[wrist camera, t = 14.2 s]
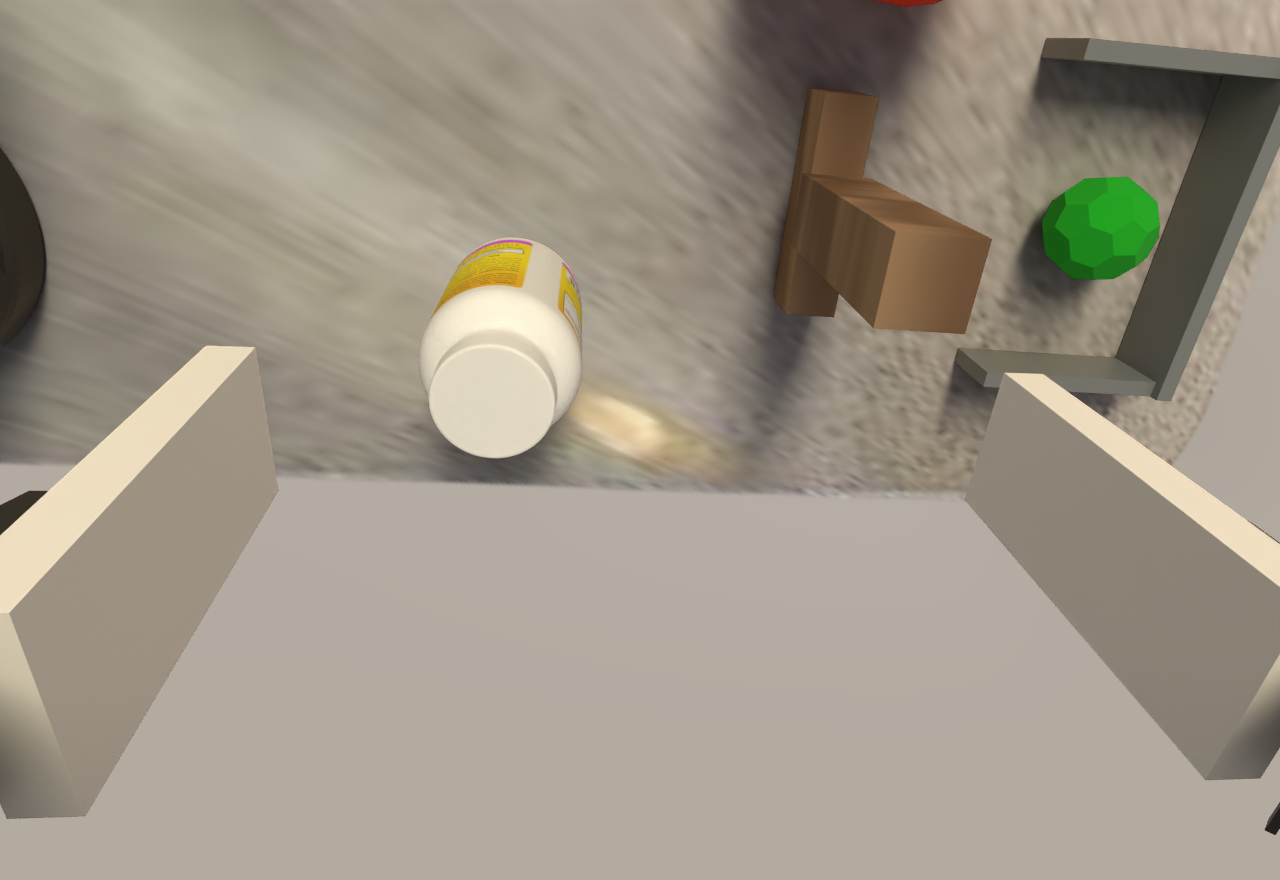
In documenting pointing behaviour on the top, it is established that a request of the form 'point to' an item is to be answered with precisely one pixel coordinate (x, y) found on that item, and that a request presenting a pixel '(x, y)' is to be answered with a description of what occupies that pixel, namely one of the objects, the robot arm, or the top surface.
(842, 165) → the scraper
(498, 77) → the top surface
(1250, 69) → the tray
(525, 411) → the supplement bottle
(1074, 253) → the polyhedron
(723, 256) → the top surface
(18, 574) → the robot arm
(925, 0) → the apple
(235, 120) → the top surface
